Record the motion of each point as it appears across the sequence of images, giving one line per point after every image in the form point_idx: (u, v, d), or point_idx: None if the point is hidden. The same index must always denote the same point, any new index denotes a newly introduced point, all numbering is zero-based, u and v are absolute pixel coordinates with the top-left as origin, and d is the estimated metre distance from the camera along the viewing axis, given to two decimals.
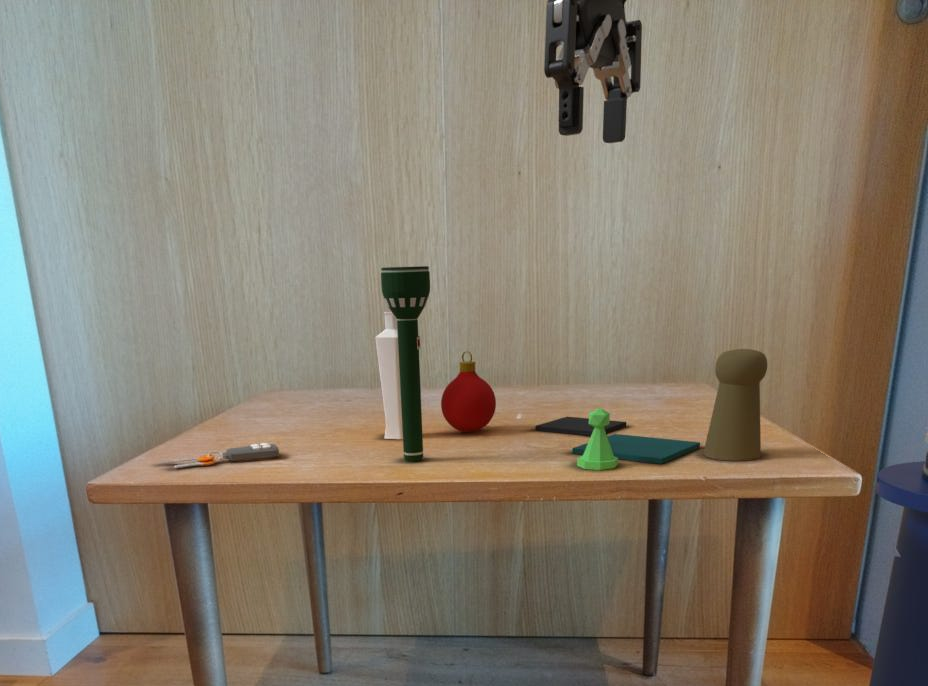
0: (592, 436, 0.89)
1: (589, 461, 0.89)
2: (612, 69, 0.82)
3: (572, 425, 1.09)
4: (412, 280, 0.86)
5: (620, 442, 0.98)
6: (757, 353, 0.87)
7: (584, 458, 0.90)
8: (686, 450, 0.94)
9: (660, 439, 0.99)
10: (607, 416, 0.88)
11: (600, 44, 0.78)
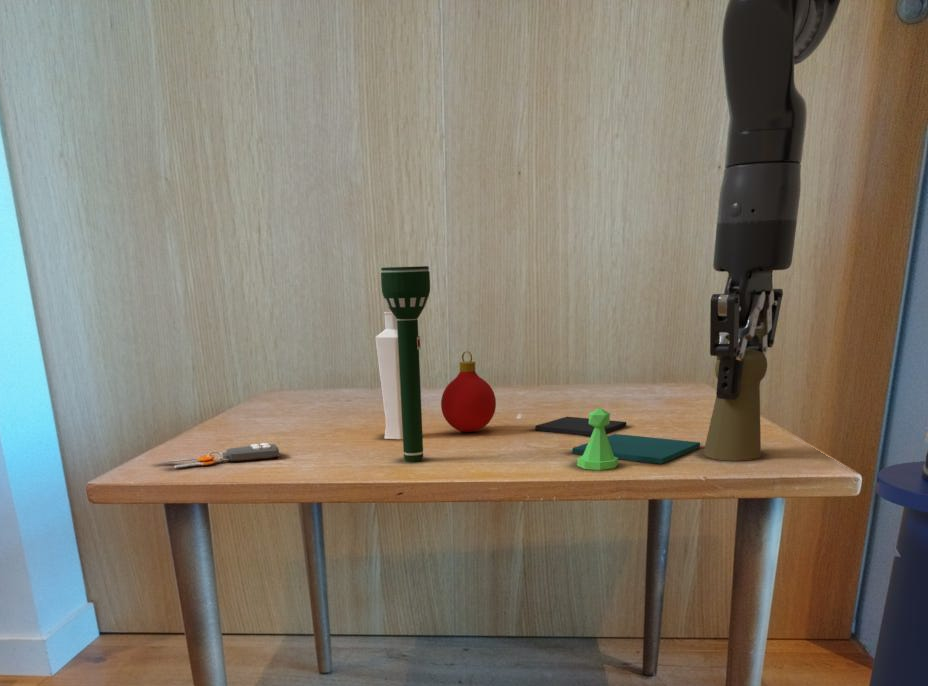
0: (592, 436, 0.89)
1: (589, 461, 0.89)
2: (754, 329, 0.89)
3: (572, 425, 1.09)
4: (412, 280, 0.86)
5: (620, 442, 0.98)
6: (757, 353, 0.87)
7: (584, 458, 0.90)
8: (686, 450, 0.94)
9: (660, 439, 0.99)
10: (607, 416, 0.88)
11: (756, 319, 0.85)
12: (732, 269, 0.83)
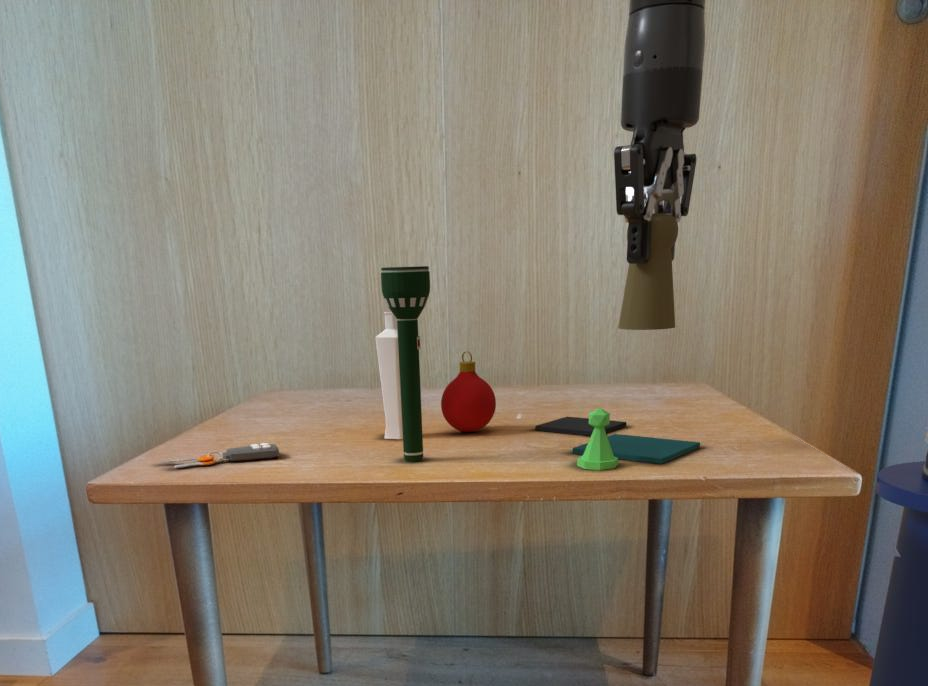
0: (592, 436, 0.89)
1: (589, 461, 0.89)
2: (666, 193, 0.87)
3: (572, 425, 1.09)
4: (412, 280, 0.86)
5: (620, 442, 0.98)
6: (666, 215, 0.85)
7: (584, 458, 0.90)
8: (686, 450, 0.94)
9: (660, 439, 0.99)
10: (607, 416, 0.88)
11: (664, 176, 0.83)
12: (637, 121, 0.81)
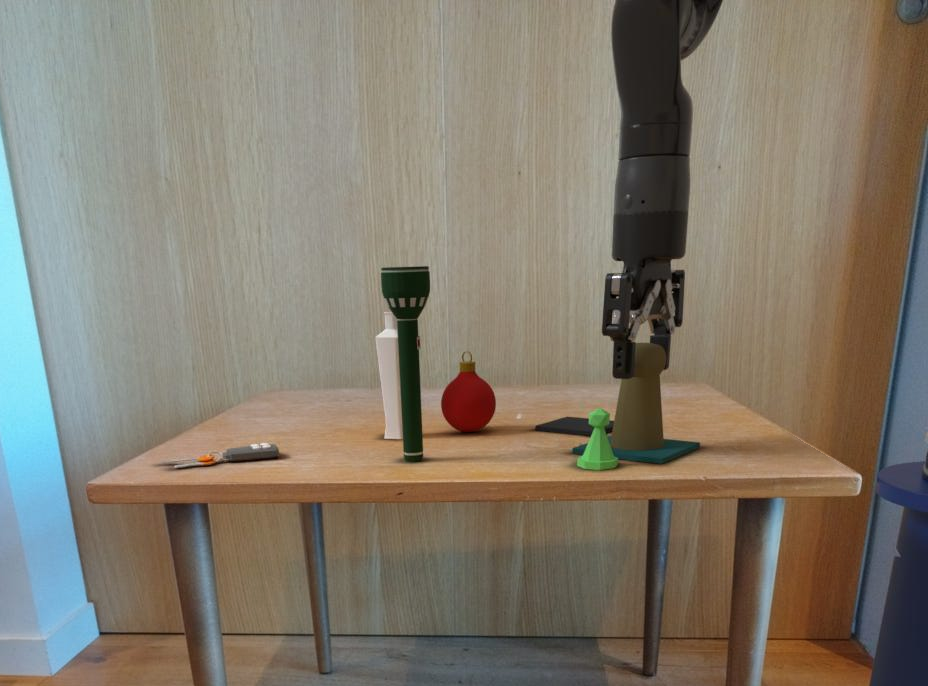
0: (592, 436, 0.89)
1: (589, 461, 0.89)
2: (659, 314, 0.93)
3: (572, 425, 1.09)
4: (412, 280, 0.86)
5: None
6: (655, 346, 0.91)
7: (584, 458, 0.90)
8: (686, 450, 0.94)
9: None
10: (607, 416, 0.88)
11: (650, 305, 0.88)
12: (627, 258, 0.86)
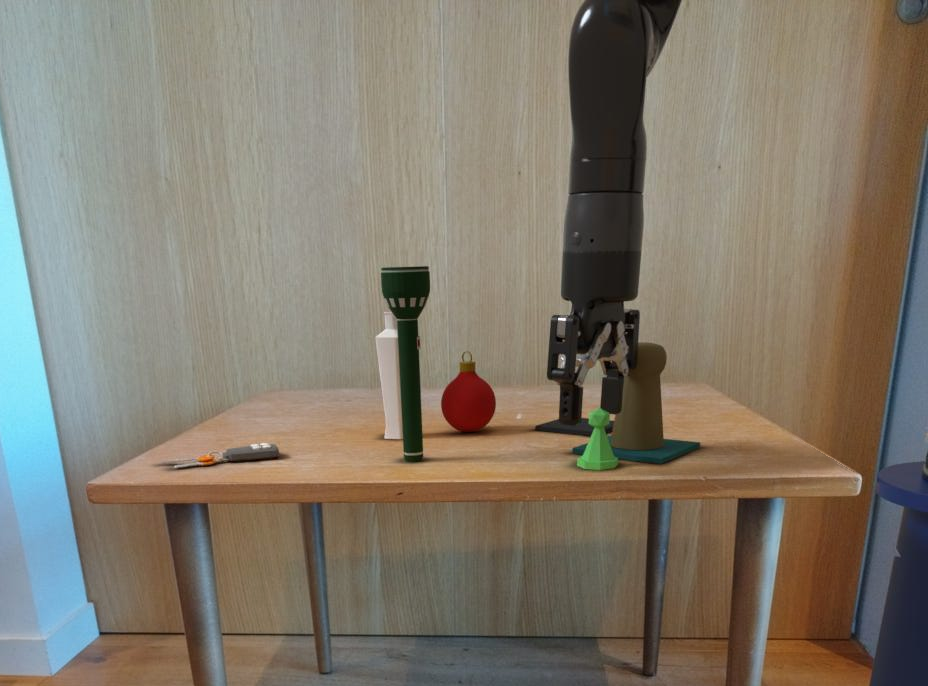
0: (592, 436, 0.89)
1: (589, 461, 0.89)
2: (611, 356, 0.88)
3: None
4: (412, 280, 0.86)
5: None
6: (655, 346, 0.91)
7: (584, 458, 0.90)
8: (686, 450, 0.94)
9: None
10: (607, 416, 0.88)
11: (600, 349, 0.83)
12: (575, 299, 0.81)
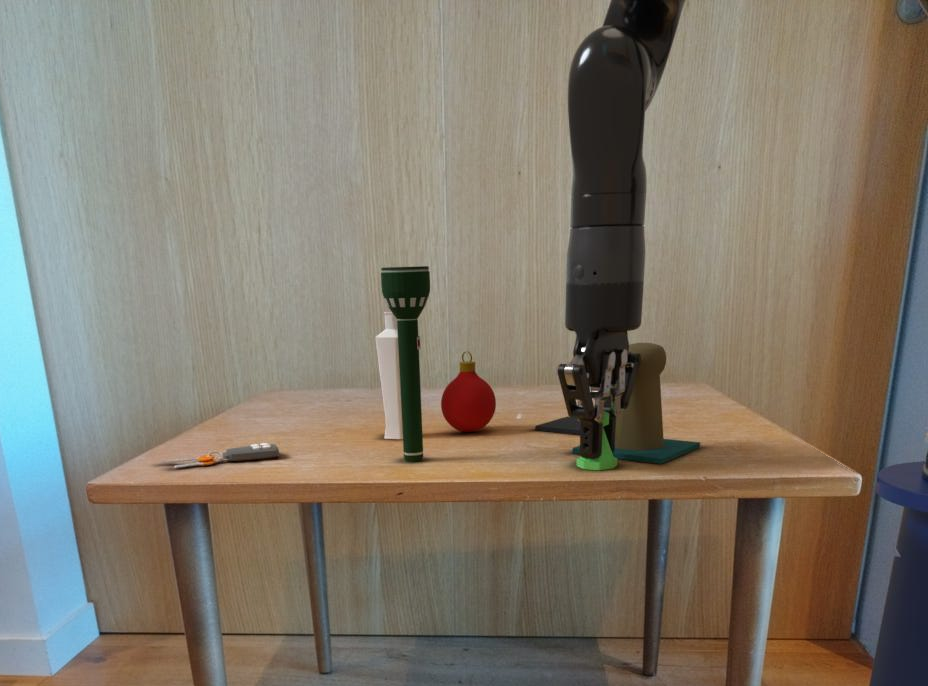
0: None
1: (588, 461, 0.89)
2: None
3: (572, 425, 1.09)
4: (412, 280, 0.86)
5: None
6: (655, 346, 0.91)
7: (583, 458, 0.90)
8: (686, 450, 0.94)
9: None
10: (606, 416, 0.88)
11: (610, 378, 0.85)
12: (579, 330, 0.82)
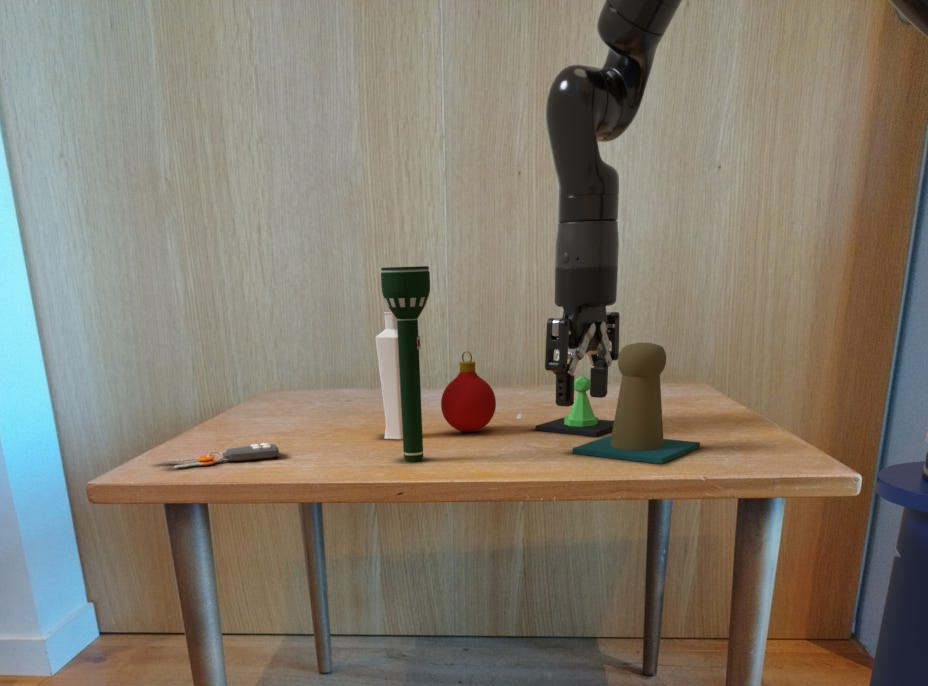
0: (576, 399, 1.08)
1: (574, 419, 1.08)
2: (596, 350, 1.08)
3: None
4: (412, 280, 0.86)
5: None
6: (655, 346, 0.91)
7: (570, 417, 1.09)
8: (686, 450, 0.94)
9: None
10: (588, 382, 1.07)
11: (587, 344, 1.03)
12: (565, 305, 1.02)
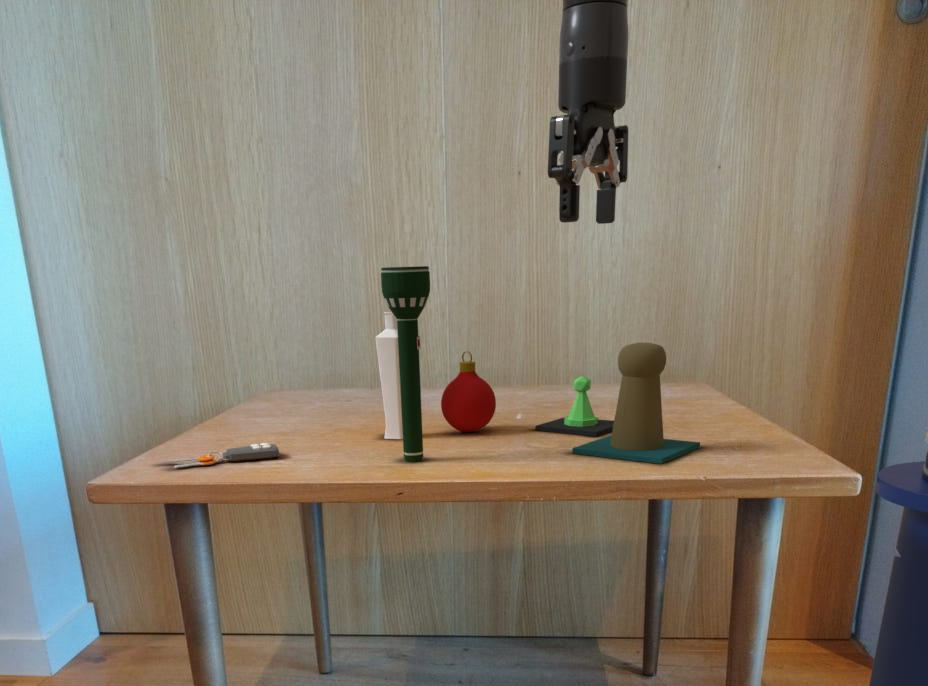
0: (576, 399, 1.08)
1: (574, 419, 1.08)
2: (603, 166, 1.00)
3: None
4: (412, 280, 0.86)
5: None
6: (655, 346, 0.91)
7: (570, 417, 1.09)
8: (686, 450, 0.94)
9: None
10: (588, 382, 1.07)
11: (593, 150, 0.95)
12: (570, 104, 0.93)
